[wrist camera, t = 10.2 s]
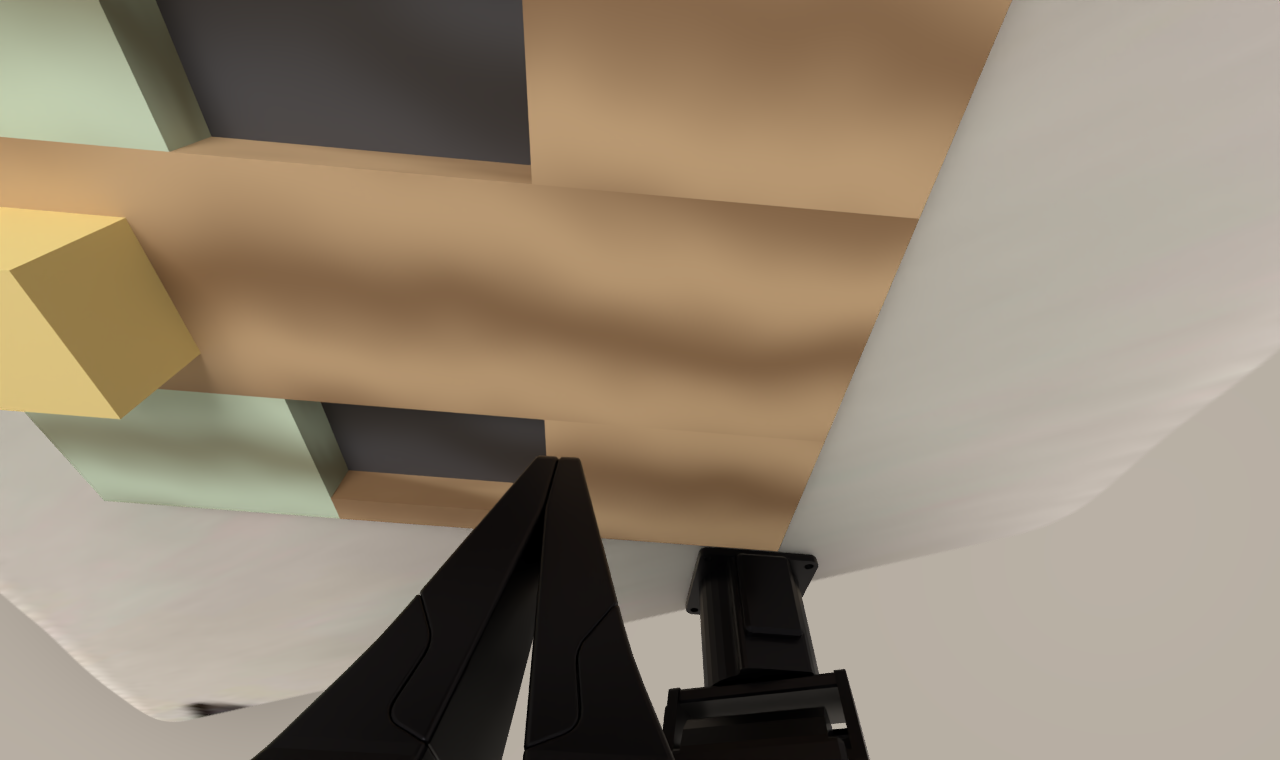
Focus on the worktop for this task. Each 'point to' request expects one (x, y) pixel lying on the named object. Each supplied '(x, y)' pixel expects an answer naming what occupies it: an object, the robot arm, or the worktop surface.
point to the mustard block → (82, 316)
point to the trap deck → (492, 239)
